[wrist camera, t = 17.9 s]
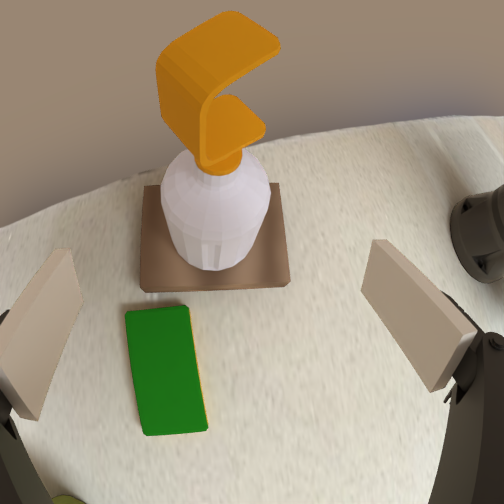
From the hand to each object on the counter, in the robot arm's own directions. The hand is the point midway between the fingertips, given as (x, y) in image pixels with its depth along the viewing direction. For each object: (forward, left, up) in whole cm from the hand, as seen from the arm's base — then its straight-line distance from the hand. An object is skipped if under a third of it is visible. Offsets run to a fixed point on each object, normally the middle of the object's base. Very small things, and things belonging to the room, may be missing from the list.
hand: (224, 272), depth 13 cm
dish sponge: (+6, +5, -23) cm, 25 cm away
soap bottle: (0, -9, -20) cm, 22 cm away
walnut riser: (0, -10, -23) cm, 25 cm away
